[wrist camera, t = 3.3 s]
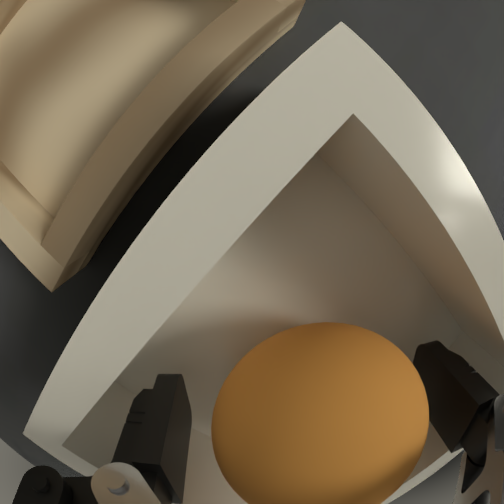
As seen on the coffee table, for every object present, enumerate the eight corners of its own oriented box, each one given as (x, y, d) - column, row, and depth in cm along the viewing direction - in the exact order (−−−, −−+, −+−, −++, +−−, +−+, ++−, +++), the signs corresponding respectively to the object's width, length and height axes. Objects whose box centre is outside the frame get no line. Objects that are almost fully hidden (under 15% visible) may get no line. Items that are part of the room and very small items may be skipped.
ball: (405, 346, 10) (490, 452, 4) (297, 436, 11) (324, 553, 5) (302, 249, 9) (405, 379, 3) (181, 373, 10) (152, 524, 4)
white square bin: (474, 315, 11) (538, 366, 6) (290, 471, 13) (303, 542, 9) (289, 89, 8) (341, 21, 4) (76, 354, 11) (22, 433, 6)
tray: (293, 26, 8) (310, -10, 5) (86, 265, 10) (51, 292, 7) (101, -68, 5) (84, -95, 3) (-45, 117, 7) (-79, 115, 5)
